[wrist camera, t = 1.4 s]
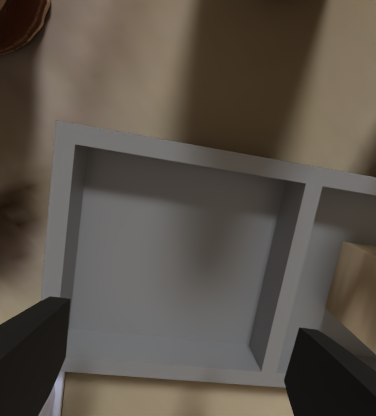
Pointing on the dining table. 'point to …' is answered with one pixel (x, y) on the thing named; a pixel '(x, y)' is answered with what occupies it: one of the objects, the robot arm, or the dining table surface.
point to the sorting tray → (195, 256)
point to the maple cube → (355, 292)
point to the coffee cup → (20, 22)
